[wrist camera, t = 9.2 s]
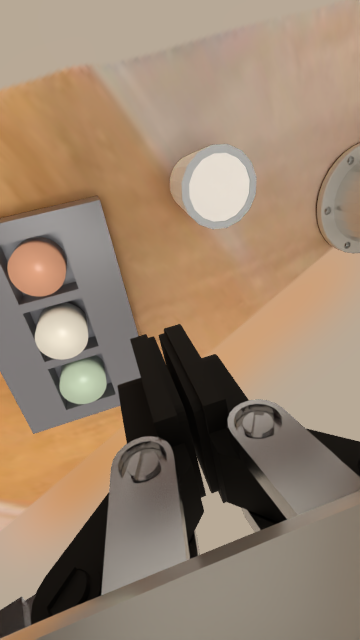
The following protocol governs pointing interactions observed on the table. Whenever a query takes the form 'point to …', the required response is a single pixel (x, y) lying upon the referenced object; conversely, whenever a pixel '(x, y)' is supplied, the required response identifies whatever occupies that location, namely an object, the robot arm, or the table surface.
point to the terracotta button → (37, 266)
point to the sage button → (83, 380)
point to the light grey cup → (214, 185)
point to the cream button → (62, 331)
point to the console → (78, 289)
